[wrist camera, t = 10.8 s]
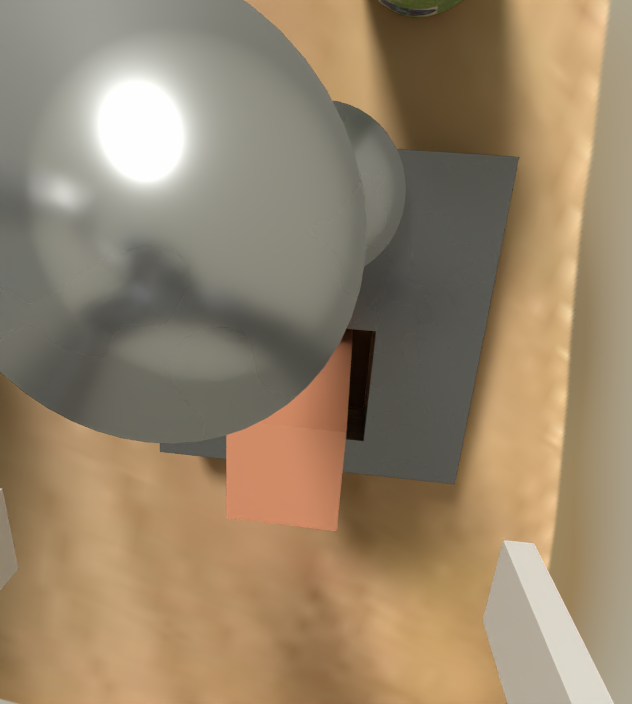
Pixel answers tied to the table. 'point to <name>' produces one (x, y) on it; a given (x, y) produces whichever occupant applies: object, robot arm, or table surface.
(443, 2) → the beverage can
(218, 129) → the socket base with post
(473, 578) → the table surface
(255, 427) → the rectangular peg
